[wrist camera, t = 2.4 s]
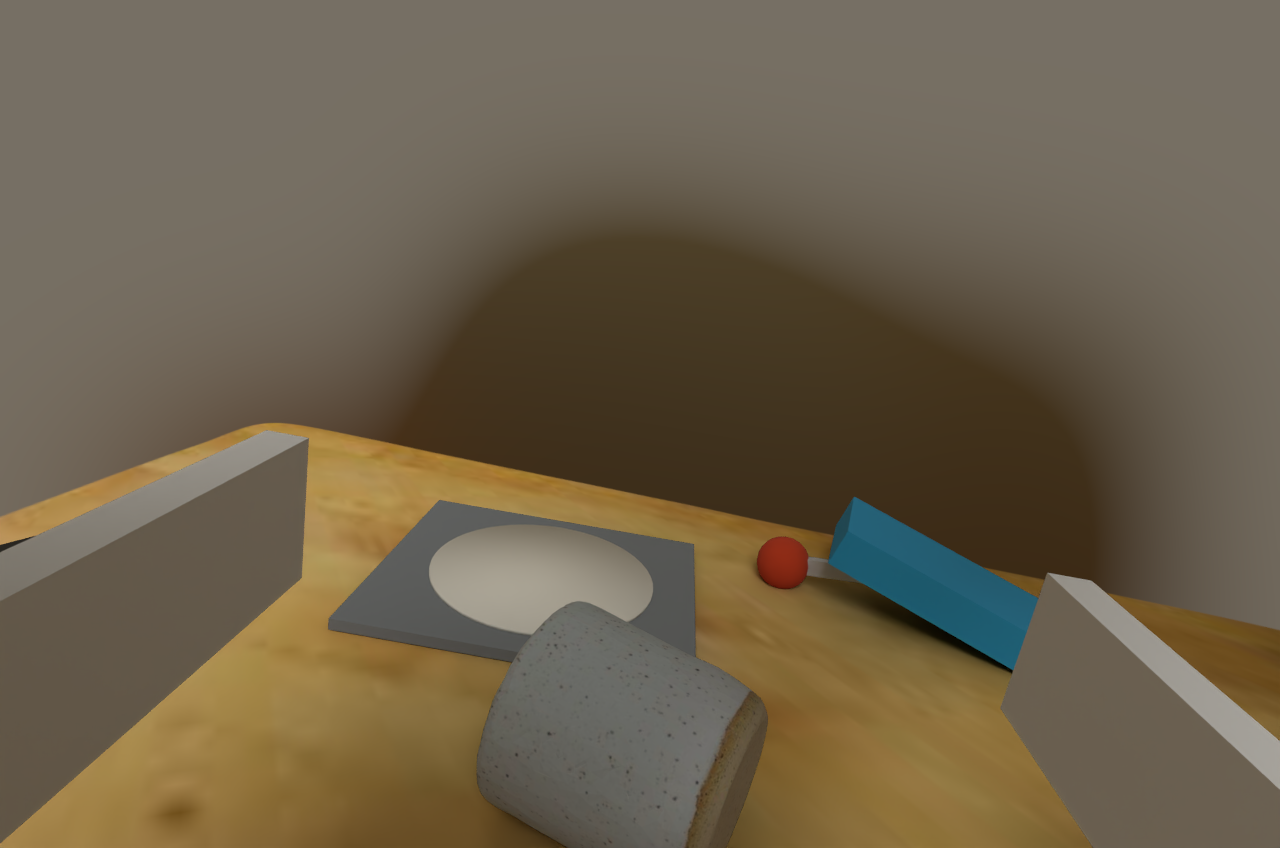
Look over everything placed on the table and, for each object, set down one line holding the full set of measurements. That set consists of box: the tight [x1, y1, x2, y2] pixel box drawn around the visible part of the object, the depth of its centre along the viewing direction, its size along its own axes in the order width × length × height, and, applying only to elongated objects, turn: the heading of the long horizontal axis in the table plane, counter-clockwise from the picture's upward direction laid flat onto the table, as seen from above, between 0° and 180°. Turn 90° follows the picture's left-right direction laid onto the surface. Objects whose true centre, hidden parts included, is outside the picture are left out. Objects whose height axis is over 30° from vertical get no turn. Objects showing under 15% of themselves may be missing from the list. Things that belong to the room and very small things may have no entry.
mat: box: [328, 500, 696, 662], centre depth 42 cm, size 18×16×1 cm
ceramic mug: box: [477, 601, 768, 848], centre depth 27 cm, size 11×8×8 cm
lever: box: [757, 497, 1038, 670], centre depth 45 cm, size 7×7×18 cm
